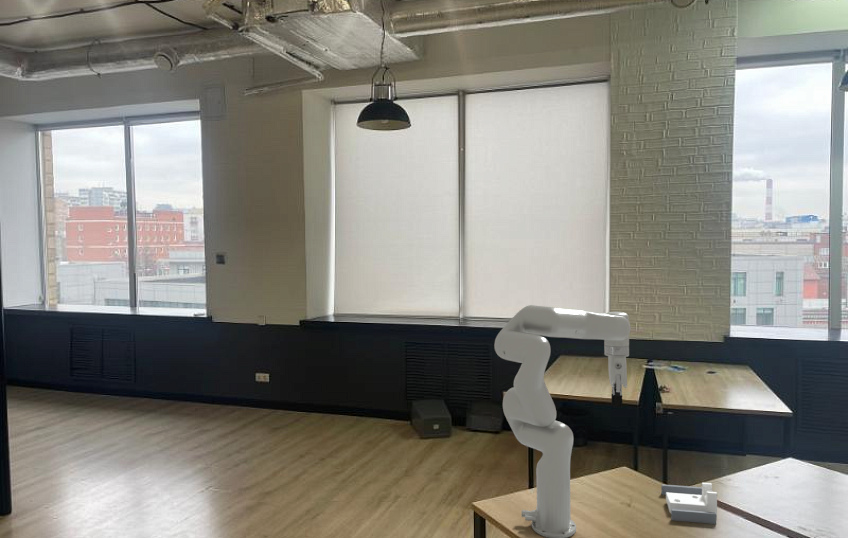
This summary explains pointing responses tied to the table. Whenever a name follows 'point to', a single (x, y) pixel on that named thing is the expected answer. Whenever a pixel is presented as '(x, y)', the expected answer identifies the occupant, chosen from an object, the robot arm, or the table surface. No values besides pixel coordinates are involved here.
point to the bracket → (694, 500)
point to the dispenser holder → (688, 514)
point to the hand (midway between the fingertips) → (616, 406)
